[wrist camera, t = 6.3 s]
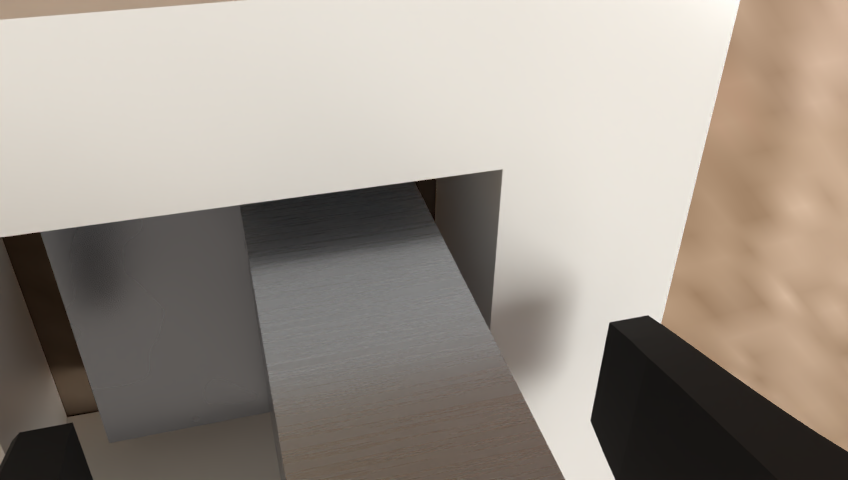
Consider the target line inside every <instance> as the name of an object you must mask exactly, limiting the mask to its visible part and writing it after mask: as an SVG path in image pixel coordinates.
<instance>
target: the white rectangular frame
mask: <svg viewBox="0 0 848 480" xmlns="http://www.w3.org/2000/svg"><path fill="white" fill-rule="evenodd" d="M739 2H740V0H0V465H1V463H2V461H3V458H4V456H5V454H6V452H7V450H8V448H9V446H10V444H11V442H12V440H13V439H14V438H15V437H16V436H17V435H18V434H19V432H24V431H30V430H35V429H40V428H46V427H51V426H56V425H62V424H67V423H72V422H73V425H74V427H75V430H76V433H77V436H78V439H79V441H80V444H81V447H82V450H83V453H84V455H85V458H86V461H87V464H88V466H89V469H90V472H91V475H92V478H93V480H281V478H280V471H279V465H278V459H277V453H276V447H275V440H274V434H273V428H272V422H271V416H270V412H268V413H263V414H258V415H252V416H247V417H242V418H237V419H232V420H227V421H221V422H216V423H211V424H206V425H201V426H196V427H191V428H185V429H180V430H175V431H170V432H165V433H160V434H155V435H149V436H144V437H139V438H134V439H129V440H124V441H118V442H113V443H109V441H108V438H107V435H106V432H105V428H104V425H103V422H102V419H101V416H100V413H99V412H94V413H88V414H83V415H77V416H72V417H67V416H66V413H65V410H64V407H63V405H62V402H61V399H60V396H59V394H58V391H57V388H56V385H55V383H54V380H53V377H52V374H51V372H50V369H49V366H48V363H47V360H46V358H45V355H44V352H43V349H42V347H41V344H40V341H39V338H38V336H37V333H36V330H35V327H34V325H33V322H32V319H31V316H30V314H29V311H28V308H27V305H26V303H25V300H24V297H23V294H22V292H21V289H20V286H19V283H18V281H17V278H16V275H15V272H14V270H13V267H12V264H11V261H10V259H9V256H8V253H7V250H6V248H5V245H4V242H3V239H2V237H7V236H14V235H21V234H29V233H36V232H43V231H51V230H58V229H66V228H73V227H80V226H88V225H95V224H103V223H110V222H117V221H125V220H132V219H139V218H147V217H154V216H162V215H169V214H176V213H184V212H191V211H198V210H206V209H213V208H221V207H228V206H235V205H243V204H250V203H258V202H265V201H272V200H280V199H287V198H294V197H302V196H309V195H317V194H324V193H331V192H339V191H346V190H353V189H361V188H368V187H376V186H383V185H390V184H398V183H405V182H412V181H420V180H427V179H435V178H436V204H435V223H436V225H437V227H438V229H439V231H440V233H441V235H442V237H443V239H444V241H445V243H446V245H447V247H448V249H449V251H450V253H451V255H452V257H453V259H454V261H455V263H456V265H457V267H458V269H459V271H460V273H461V275H462V277H463V279H464V281H465V283H466V285H467V287H468V289H469V290H470V292H471V294H472V296H473V298H474V300H475V302H476V304H477V306H478V308H479V310H480V312H481V314H482V316H483V318H484V320H485V322H486V324H487V326H488V328H489V330H490V332H491V334H492V336H493V338H494V340H495V342H496V344H497V346H498V348H499V350H500V352H501V354H502V356H503V358H504V360H505V362H506V364H507V366H508V368H509V369H510V371H511V373H512V375H513V377H514V379H515V381H516V383H517V385H518V387H519V389H520V391H521V393H522V395H523V397H524V399H525V401H526V403H527V405H528V407H529V409H530V411H531V413H532V415H533V417H534V419H535V421H536V423H537V425H538V427H539V429H540V431H541V433H542V435H543V437H544V439H545V441H546V443H547V445H548V446H549V448H550V450H551V452H552V454H553V456H554V458H555V460H556V462H557V464H558V466H559V468H560V470H561V472H562V474H563V476H564V478H565V480H615V478H614V476H613V474H612V471H611V469H610V467H609V465H608V462H607V460H606V458H605V456H604V453H603V451H602V448H601V446H600V443H599V441H598V439H597V436H596V434H595V431H594V429H593V426H592V424H591V421H590V419H591V414H592V409H593V404H594V399H595V394H596V388H597V383H598V378H599V373H600V368H601V363H602V358H603V352H604V347H605V342H606V337H607V332H608V327H609V322H614V321H620V320H625V319H630V318H636V317H641V316H646V315H648V316H650V317H651V318H653V319H654V320H656V321H657V322H659V323H660V324H661V321H662V317H663V313H664V309H665V305H666V301H667V297H668V293H669V288H670V284H671V280H672V276H673V272H674V268H675V264H676V260H677V256H678V252H679V248H680V243H681V239H682V235H683V231H684V227H685V223H686V219H687V215H688V211H689V207H690V203H691V198H692V194H693V190H694V186H695V182H696V178H697V174H698V170H699V166H700V162H701V158H702V153H703V149H704V145H705V141H706V137H707V133H708V129H709V125H710V121H711V117H712V113H713V108H714V104H715V100H716V96H717V92H718V88H719V84H720V80H721V76H722V72H723V68H724V63H725V59H726V55H727V51H728V47H729V43H730V39H731V35H732V31H733V27H734V23H735V19H736V14H737V10H738V6H739Z"/></svg>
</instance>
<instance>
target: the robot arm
mask: <svg viewBox="0 0 848 480" xmlns="http://www.w3.org/2000/svg"><path fill="white" fill-rule="evenodd" d="M590 421H591V424H592V426H593V429H594V431H595V434H596V436H597V439H598V441H599V443H600V446H601V448H602V451H603V453H604V456H605V458H606V460H607V462H608V465H609V467H610V469H611V471H612V474H613V476H614V478H615V480H848V452H847V451H846V450H844V449H842V448H841V447H839V446H837V445H836V444H834V443H833V442H831V441H829V440H828V439H826V438H825V437H823V436H821V435H820V434H818V433H817V432H815V431H814V430H812V429H811V428H809V427H808V426H806V425H804V424H803V423H801V422H800V421H798V420H797V419H795V418H794V417H792V416H791V415H789V414H788V413H786V412H785V411H783V410H782V409H780V408H779V407H777V406H776V405H775V404H773V403H772V402H770V401H769V400H767V399H766V398H764V397H763V396H761V395H760V394H759V393H757V392H756V391H754V390H753V389H751V388H750V387H749V386H747V385H746V384H744V383H743V382H741V381H740V380H739V379H737V378H736V377H734V376H733V375H732V374H730V373H729V372H727V371H726V370H725V369H723V368H722V367H720V366H719V365H718V364H716V363H715V362H713V361H712V360H711V359H709V358H708V357H706V356H705V355H704V354H702V353H701V352H700V351H698V350H697V349H695V348H694V347H693V346H691V345H690V344H688V343H687V342H686V341H684V340H683V339H682V338H680V337H679V336H677V335H676V334H675V333H673V332H672V331H670V330H669V329H667V328H666V327H665V326H663V325H662V324H660V323H659V322H657V321H656V320H654V319H653V318H651V317H650V316H648V315H646V316H641V317H636V318H630V319H625V320H620V321H614V322H609V327H608V332H607V337H606V342H605V347H604V352H603V358H602V363H601V368H600V373H599V378H598V383H597V388H596V394H595V399H594V404H593V409H592V414H591V419H590ZM0 480H93V478H92V475H91V472H90V469H89V466H88V464H87V461H86V458H85V455H84V453H83V450H82V447H81V444H80V441H79V439H78V436H77V433H76V430H75V427H74V425H73V422H72V423H67V424H62V425H56V426H51V427H46V428H40V429H35V430H30V431H24V432H19V434H18V435H17V436H16V437H15V438H14V439H13V440H12V442H11V444H10V446H9V448H8V450H7V452H6V454H5V456H4V458H3V461H2V463H1V465H0Z"/></svg>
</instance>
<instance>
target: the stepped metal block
mask: <svg viewBox="0 0 848 480" xmlns="http://www.w3.org/2000/svg"><path fill="white" fill-rule="evenodd" d="M40 233H41V236H42V239H43V242H44V245H45V248H46V251H47V255H48V258H49V261H50V264H51V267H52V270H53V273H54V276H55V279H56V282H57V285H58V288H59V291H60V294H61V297H62V300H63V303H64V306H65V309H66V312H67V316H68V319H69V322H70V325H71V328H72V331H73V334H74V337H75V340H76V343H77V346H78V349H79V352H80V355H81V358H82V361H83V364H84V367H85V370H86V374H87V377H88V380H89V383H90V386H91V389H92V392H93V395H94V398H95V401H96V404H97V407H98V410H99V413H100V416H101V419H102V422H103V425H104V428H105V432H106V435H107V438H108V441H109V443H113V442H118V441H124V440H129V439H134V438H139V437H144V436H149V435H155V434H160V433H165V432H170V431H175V430H180V429H185V428H191V427H196V426H201V425H206V424H211V423H216V422H221V421H227V420H232V419H237V418H242V417H247V416H252V415H258V414H263V413H268V412H270V416H271V422H272V428H273V434H274V440H275V447H276V453H277V459H278V465H279V471H280V478H281V480H565V478H564V476H563V474H562V472H561V470H560V468H559V466H558V464H557V462H556V460H555V458H554V456H553V454H552V452H551V450H550V448H549V446H548V445H547V443H546V441H545V439H544V437H543V435H542V433H541V431H540V429H539V427H538V425H537V423H536V421H535V419H534V417H533V415H532V413H531V411H530V409H529V407H528V405H527V403H526V401H525V399H524V397H523V395H522V393H521V391H520V389H519V387H518V385H517V383H516V381H515V379H514V377H513V375H512V373H511V371H510V369H509V368H508V366H507V364H506V362H505V360H504V358H503V356H502V354H501V352H500V350H499V348H498V346H497V344H496V342H495V340H494V338H493V336H492V334H491V332H490V330H489V328H488V326H487V324H486V322H485V320H484V318H483V316H482V314H481V312H480V310H479V308H478V306H477V304H476V302H475V300H474V298H473V296H472V294H471V292H470V290H469V289H468V287H467V285H466V283H465V281H464V279H463V277H462V275H461V273H460V271H459V269H458V267H457V265H456V263H455V261H454V259H453V257H452V255H451V253H450V251H449V249H448V247H447V245H446V243H445V241H444V239H443V237H442V235H441V233H440V231H439V229H438V227H437V225H436V223H435V221H434V219H433V217H432V215H431V213H430V212H429V210H428V208H427V206H426V204H425V202H424V200H423V198H422V196H421V194H420V192H419V190H418V188H417V186H416V184H415V182H414V181H412V182H405V183H398V184H390V185H383V186H376V187H368V188H361V189H353V190H346V191H339V192H331V193H324V194H317V195H309V196H302V197H294V198H287V199H280V200H272V201H265V202H258V203H250V204H243V205H235V206H228V207H221V208H213V209H206V210H198V211H191V212H184V213H176V214H169V215H162V216H154V217H147V218H139V219H132V220H125V221H117V222H110V223H103V224H95V225H88V226H80V227H73V228H66V229H58V230H51V231H43V232H40Z"/></svg>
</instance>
